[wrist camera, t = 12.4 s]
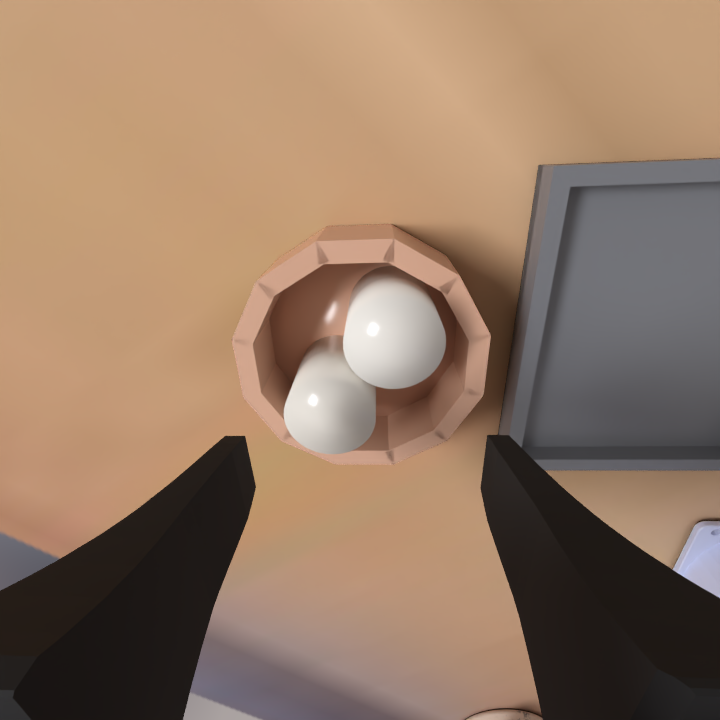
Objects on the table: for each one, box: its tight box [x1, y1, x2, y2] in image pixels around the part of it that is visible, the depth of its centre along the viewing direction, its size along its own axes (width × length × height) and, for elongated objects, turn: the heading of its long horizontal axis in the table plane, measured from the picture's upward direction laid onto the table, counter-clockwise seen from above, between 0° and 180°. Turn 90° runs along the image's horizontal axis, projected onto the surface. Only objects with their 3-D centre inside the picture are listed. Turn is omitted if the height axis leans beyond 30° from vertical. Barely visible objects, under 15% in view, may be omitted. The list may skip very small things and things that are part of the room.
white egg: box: [343, 266, 446, 389], centre depth 16 cm, size 4×4×4 cm
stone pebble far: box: [284, 335, 376, 454], centre depth 17 cm, size 4×4×4 cm
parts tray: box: [498, 158, 720, 470], centre depth 17 cm, size 12×14×2 cm
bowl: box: [232, 224, 491, 464], centre depth 17 cm, size 10×10×3 cm
